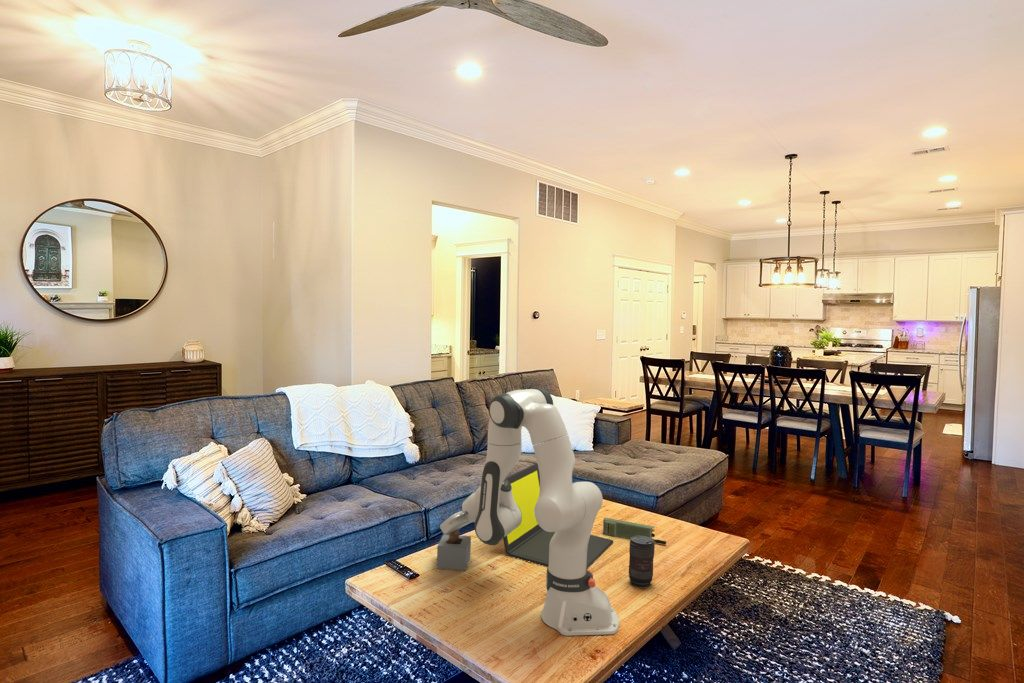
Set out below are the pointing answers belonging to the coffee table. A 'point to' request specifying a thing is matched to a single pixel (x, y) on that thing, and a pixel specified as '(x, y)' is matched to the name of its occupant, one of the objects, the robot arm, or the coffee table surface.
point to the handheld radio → (627, 529)
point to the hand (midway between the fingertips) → (452, 529)
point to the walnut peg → (454, 537)
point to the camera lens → (641, 561)
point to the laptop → (529, 535)
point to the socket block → (453, 553)
